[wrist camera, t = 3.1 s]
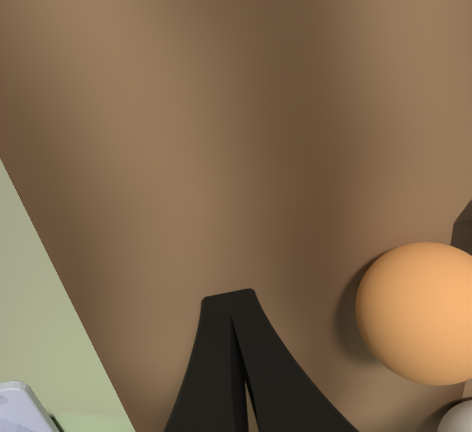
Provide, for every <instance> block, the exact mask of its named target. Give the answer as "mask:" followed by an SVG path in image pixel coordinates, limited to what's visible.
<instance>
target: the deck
mask: <svg viewBox="0 0 472 432" xmlns="http://www.w3.org/2000/svg"><path fill="white" fill-rule="evenodd" d="M0 158H1V160H2V162H3V165H4V167H5V169H6V170H7V173H8V175H9V177H10V179H11V181H12V183H13V185H14V187H15V189H16V191H17V193H18V195H19V197H20V199H21V201H22V203H23V205H24V207H25V209H26V211H27V213H28V215H29V217H30V219H31V221H32V223H33V225H34V227H35V229H36V231H37V233H38V235H39V237H40V239H41V241H42V243H43V245H44V247H45V249H46V251H47V253H48V255H49V258H50V259H51V262H52V264H53V266H54V268H55V269H56V272H57V274H58V276H59V278H60V280H61V282H62V284H63V286H64V288H65V290H66V292H67V294H68V296H69V298H70V300H71V302H72V304H73V306H74V308H75V310H76V312H77V314H78V316H79V318H80V320H81V322H82V324H83V326H84V328H85V330H86V332H87V334H88V336H89V338H90V340H91V342H92V344H93V346H94V349H95V351H96V352H97V355H98V357H99V358H100V360H101V363H102V365H103V367H104V369H105V371H106V373H107V375H108V377H109V379H110V381H111V383H112V385H113V387H114V389H115V391H116V393H117V395H118V397H119V399H120V401H121V403H122V405H123V407H124V409H125V411H126V413H127V415H128V417H129V419H130V421H131V423H132V425H133V427H134V429H135V431H136V432H163V431H164V429H165V426H166V424H167V422H168V419H169V417H170V414H171V412H172V409H173V407H174V404H175V402H176V399H177V396H178V393H179V390H180V387H181V385H182V382H183V379H184V376H185V373H186V370H187V367H188V363H189V360H190V356H191V352H192V349H193V345H194V342H195V337H196V333H197V328H198V323H199V318H200V311H201V301H202V300H203V298H204V297H207V296H212V295H217V294H222V293H227V292H232V291H237V290H242V289H247V288H251V289H253V290H255V293H256V296H257V298H258V300H259V303H260V305H261V307H262V309H263V311H264V313H265V314H266V316H267V318H268V320H269V321H270V323H271V325H272V326H273V328H274V330H275V331H276V333H277V334H278V336H279V337H280V339H281V340H282V342H283V343H284V345H285V346H286V347H287V349H288V350H289V352H290V353H291V355H292V356H293V357H294V359H295V360H296V361H297V363H298V364H299V365H300V366H301V368H302V369H303V370H304V372H305V373H306V374H307V375H308V377H309V378H310V379H311V380H312V381H313V383H314V384H315V385H316V386H317V387H318V389H319V390H320V391H321V392H322V393H323V394H324V395H325V397H326V398H327V399H328V400H329V401H330V402H331V403H332V404H333V405H334V406H335V408H336V409H337V410H338V411H339V412H340V413H341V414H342V415H343V416H344V417H345V418H346V419H347V420H348V421H349V422H350V423H351V424H352V425H353V426H354V427H355V428H356V429H357V430H358V431H359V432H437V430H438V426H439V424H440V422H441V420H442V418H443V417H444V415H445V414H446V413H447V412H448V411H449V410H450V409H451V408H453V407H454V406H456V405H458V404H460V403H462V402H465V401H468V400H472V378H471V379H469V380H466V381H464V382H461V383H457V384H452V385H442V386H434V385H426V384H420V383H416V382H413V381H410V380H407V379H405V378H403V377H401V376H399V375H397V374H395V373H393V372H392V371H390V370H389V369H388V368H386V367H385V366H384V365H383V364H382V363H380V362H379V361H378V360H377V359H376V357H375V356H374V355H373V354H372V353H371V351H370V350H369V349H368V347H367V345H366V344H365V342H364V340H363V338H362V336H361V334H360V331H359V328H358V324H357V320H356V309H355V304H356V296H357V291H358V288H359V285H360V283H361V280H362V278H363V276H364V275H365V273H366V272H367V270H368V269H369V268H370V266H371V265H372V264H373V263H374V262H375V261H376V260H377V259H378V258H379V257H381V256H382V255H383V254H385V253H387V252H388V251H390V250H392V249H394V248H396V247H399V246H402V245H406V244H410V243H417V242H434V243H441V244H445V245H449V246H452V247H455V248H458V249H460V250H462V251H464V252H466V253H468V254H470V255H471V256H472V0H0ZM245 386H246V382H245ZM246 398H247V411H248V424H249V432H259V430H258V426H257V423H256V419H255V415H254V411H253V408H252V404H251V400H250V397H249V393H248V389H247V386H246Z"/></svg>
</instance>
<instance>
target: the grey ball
mask: <svg viewBox="0 0 472 432" xmlns="http://www.w3.org/2000/svg"><path fill="white" fill-rule="evenodd" d="M437 432H472V400H468V401H465V402H462V403H460V404H458V405H456V406H454V407H453V408H451V409H450V410H449V411H448V412H447V413H446V414H445V415H444V417H443V418H442V420H441V422H440V424H439V426H438V430H437Z"/></svg>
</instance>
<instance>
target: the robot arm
mask: <svg viewBox="0 0 472 432" xmlns="http://www.w3.org/2000/svg"><path fill="white" fill-rule="evenodd" d="M245 382H246V386H247V389H248V393H249V397H250V400H251V404H252V408H253V411H254V415H255V419H256V423H257V426H258V430H259V432H359V431H358V430H357V429H356V428H355V427H354V426H353V425H352V424H351V423H350V422H349V421H348V420H347V419H346V418H345V417H344V416H343V415H342V414H341V413H340V412H339V411H338V410H337V409H336V408H335V406H334V405H333V404H332V403H331V402H330V401H329V400H328V399H327V398H326V397H325V395H324V394H323V393H322V392H321V391H320V390H319V389H318V387H317V386H316V385H315V384H314V383H313V381H312V380H311V379H310V378H309V377H308V375H307V374H306V373H305V372H304V370H303V369H302V368H301V366H300V365H299V364H298V363H297V361H296V360H295V359H294V357H293V356H292V355H291V353H290V352H289V350H288V349H287V347H286V346H285V345H284V343H283V342H282V340H281V339H280V337H279V336H278V334H277V333H276V331H275V330H274V328H273V326H272V325H271V323H270V321H269V320H268V318H267V316H266V314H265V313H264V311H263V309H262V307H261V305H260V303H259V300H258V298H257V296H256V293H255V290H253V289H251V288H247V289H242V290H237V291H232V292H227V293H222V294H217V295H212V296H207V297H204V298H203V300H202V301H201V311H200V318H199V323H198V328H197V333H196V337H195V342H194V345H193V349H192V352H191V356H190V360H189V363H188V367H187V370H186V373H185V376H184V379H183V382H182V385H181V387H180V390H179V393H178V396H177V399H176V402H175V404H174V407H173V409H172V412H171V414H170V417H169V419H168V422H167V424H166V426H165V429H164V431H163V432H249V424H248V411H247V398H246V386H245ZM0 432H60V431H59V430H58V428H57V427H56V425H55V424H54V422H53V421H52V419H51V418H50V416H49V415H48V413H47V412H46V410H45V409H44V407H43V406H42V405H41V403H40V401H39V400H38V398H37V397H36V395H35V394H34V392H33V391H32V390H31V388H30V387H29V386H28V385H27V384H26V383H24V382H22V381H9V382H4V383H0Z"/></svg>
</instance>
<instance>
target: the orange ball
mask: <svg viewBox="0 0 472 432" xmlns="http://www.w3.org/2000/svg"><path fill="white" fill-rule="evenodd" d="M355 309H356V320H357V324H358V328H359V331H360V334H361V336H362V338H363V340H364V342H365V344H366V345H367V347H368V349H369V350H370V351H371V353H372V354H373V355H374V356H375V357H376V359H377V360H378V361H379V362H380V363H382V364H383V365H384V366H385V367H386V368H388V369H389V370H390V371H392V372H393V373H395V374H397V375H399V376H401V377H403V378H405V379H407V380H410V381H413V382H416V383H420V384H426V385H434V386H442V385H452V384H457V383H461V382H464V381H466V380H469V379H471V378H472V256H471V255H470V254H468V253H466V252H464V251H462V250H460V249H458V248H455V247H452V246H449V245H445V244H441V243H434V242H417V243H410V244H406V245H402V246H399V247H396V248H394V249H392V250H390V251H388V252H387V253H385V254H383V255H382V256H381V257H379V258H378V259H377V260H376V261H375V262H374V263H373V264H372V265H371V266H370V268H369V269H368V270H367V272H366V273H365V275H364V276H363V278H362V280H361V283H360V285H359V288H358V291H357V296H356V304H355Z"/></svg>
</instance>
